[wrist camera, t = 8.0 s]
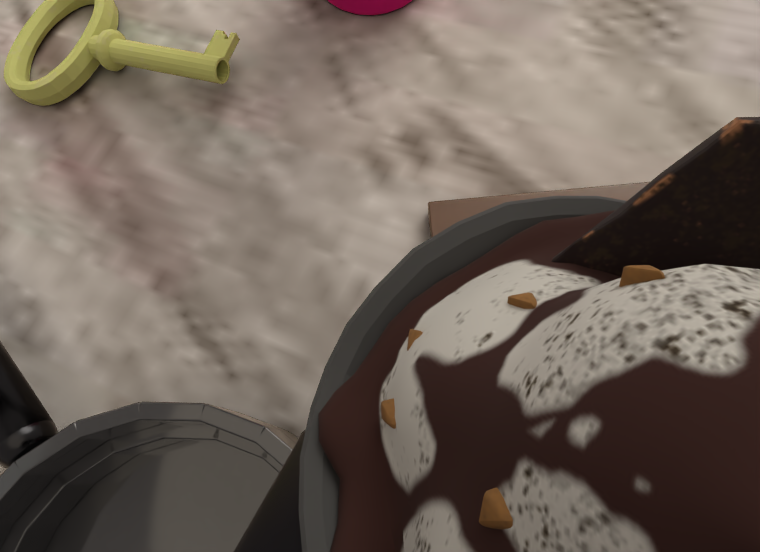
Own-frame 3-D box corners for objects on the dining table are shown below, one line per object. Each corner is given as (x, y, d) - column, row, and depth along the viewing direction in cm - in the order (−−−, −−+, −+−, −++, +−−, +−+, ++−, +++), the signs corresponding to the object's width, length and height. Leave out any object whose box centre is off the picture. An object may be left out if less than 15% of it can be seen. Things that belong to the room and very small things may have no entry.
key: (243, 101, 27) (228, 72, 25) (5, 110, 28) (-27, 82, 26) (256, -13, 29) (243, -48, 27) (36, -1, 30) (8, -35, 28)
